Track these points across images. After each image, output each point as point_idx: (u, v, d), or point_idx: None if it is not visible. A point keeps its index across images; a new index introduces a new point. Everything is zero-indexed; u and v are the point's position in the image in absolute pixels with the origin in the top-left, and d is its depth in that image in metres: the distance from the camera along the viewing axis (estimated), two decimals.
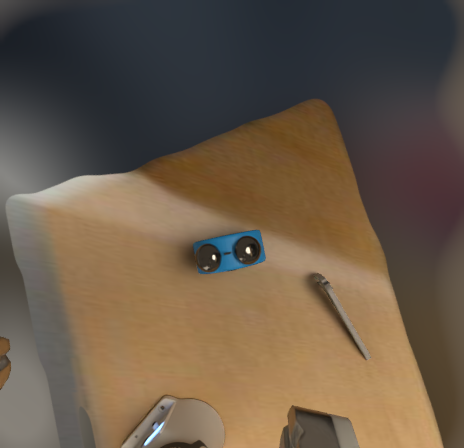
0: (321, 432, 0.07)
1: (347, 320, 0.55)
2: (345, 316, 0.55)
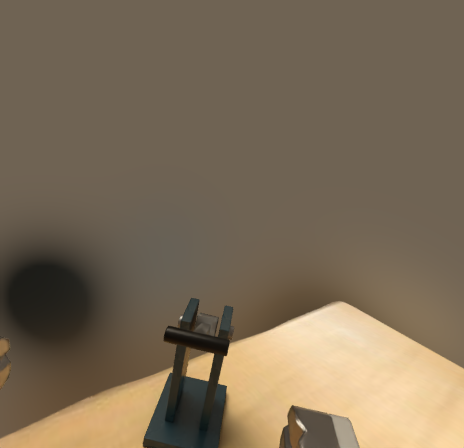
0: (321, 432, 0.07)
1: None
2: None
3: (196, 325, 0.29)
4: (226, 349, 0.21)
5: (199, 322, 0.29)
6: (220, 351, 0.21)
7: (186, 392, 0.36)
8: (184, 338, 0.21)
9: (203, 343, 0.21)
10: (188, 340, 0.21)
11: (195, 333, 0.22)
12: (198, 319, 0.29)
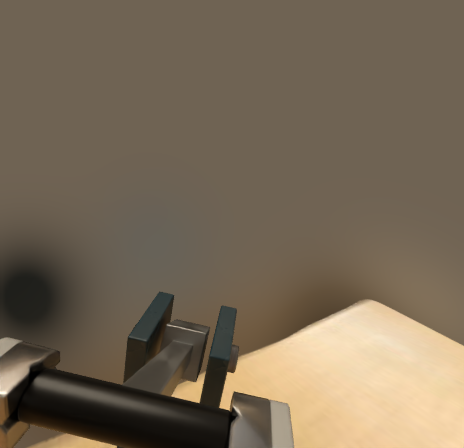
0: (257, 417, 0.07)
1: None
2: None
3: (163, 346, 0.14)
4: None
5: (169, 340, 0.14)
6: None
7: None
8: (83, 415, 0.06)
9: (145, 432, 0.06)
10: (96, 422, 0.06)
11: (123, 394, 0.07)
12: (167, 333, 0.15)
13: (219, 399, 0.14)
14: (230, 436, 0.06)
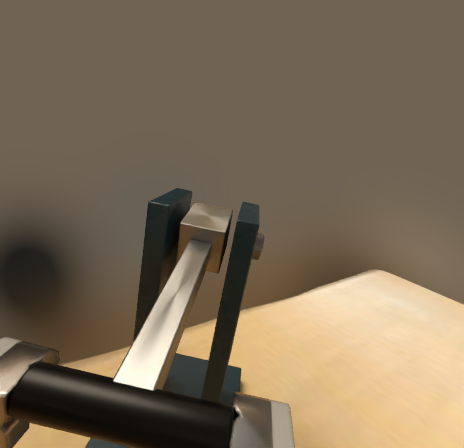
0: (257, 417, 0.07)
1: None
2: None
3: (180, 243, 0.13)
4: None
5: (186, 237, 0.13)
6: None
7: (170, 378, 0.20)
8: (73, 429, 0.06)
9: (140, 444, 0.06)
10: (88, 433, 0.06)
11: (111, 408, 0.06)
12: (183, 232, 0.13)
13: (246, 274, 0.13)
14: (231, 436, 0.06)
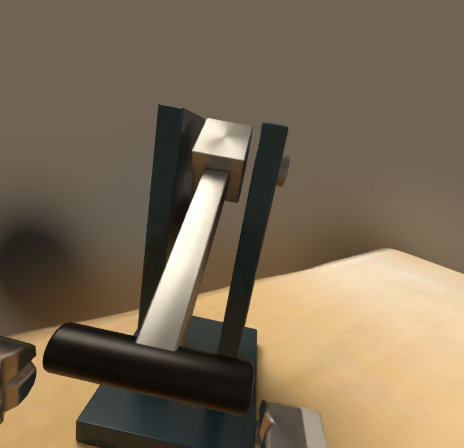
0: (289, 425, 0.07)
1: None
2: None
3: (194, 172, 0.12)
4: (241, 415, 0.07)
5: (199, 166, 0.12)
6: None
7: None
8: (105, 384, 0.07)
9: (167, 397, 0.07)
10: (120, 387, 0.07)
11: (136, 371, 0.06)
12: (195, 161, 0.12)
13: (273, 190, 0.11)
14: (266, 445, 0.06)
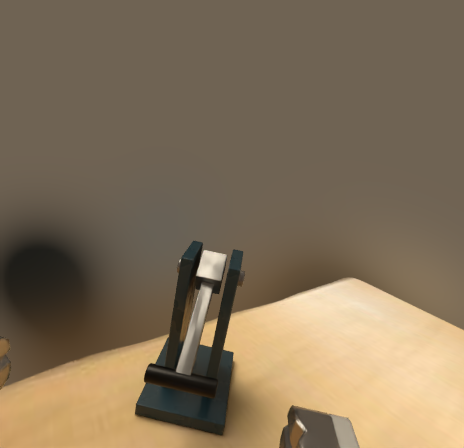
0: (321, 432, 0.07)
1: None
2: None
3: (197, 282, 0.24)
4: (213, 398, 0.19)
5: (199, 280, 0.24)
6: None
7: None
8: None
9: (187, 391, 0.19)
10: None
11: (177, 382, 0.19)
12: (197, 278, 0.24)
13: (233, 296, 0.23)
14: None
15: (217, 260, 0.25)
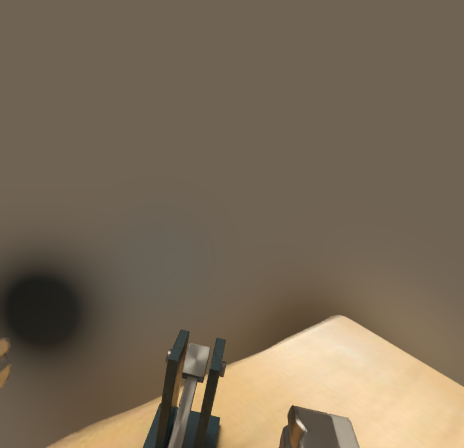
0: (321, 432, 0.07)
1: None
2: None
3: (183, 375, 0.27)
4: None
5: (185, 374, 0.27)
6: None
7: None
8: None
9: None
10: None
11: None
12: (183, 373, 0.27)
13: (215, 391, 0.26)
14: None
15: (201, 354, 0.28)
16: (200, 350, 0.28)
